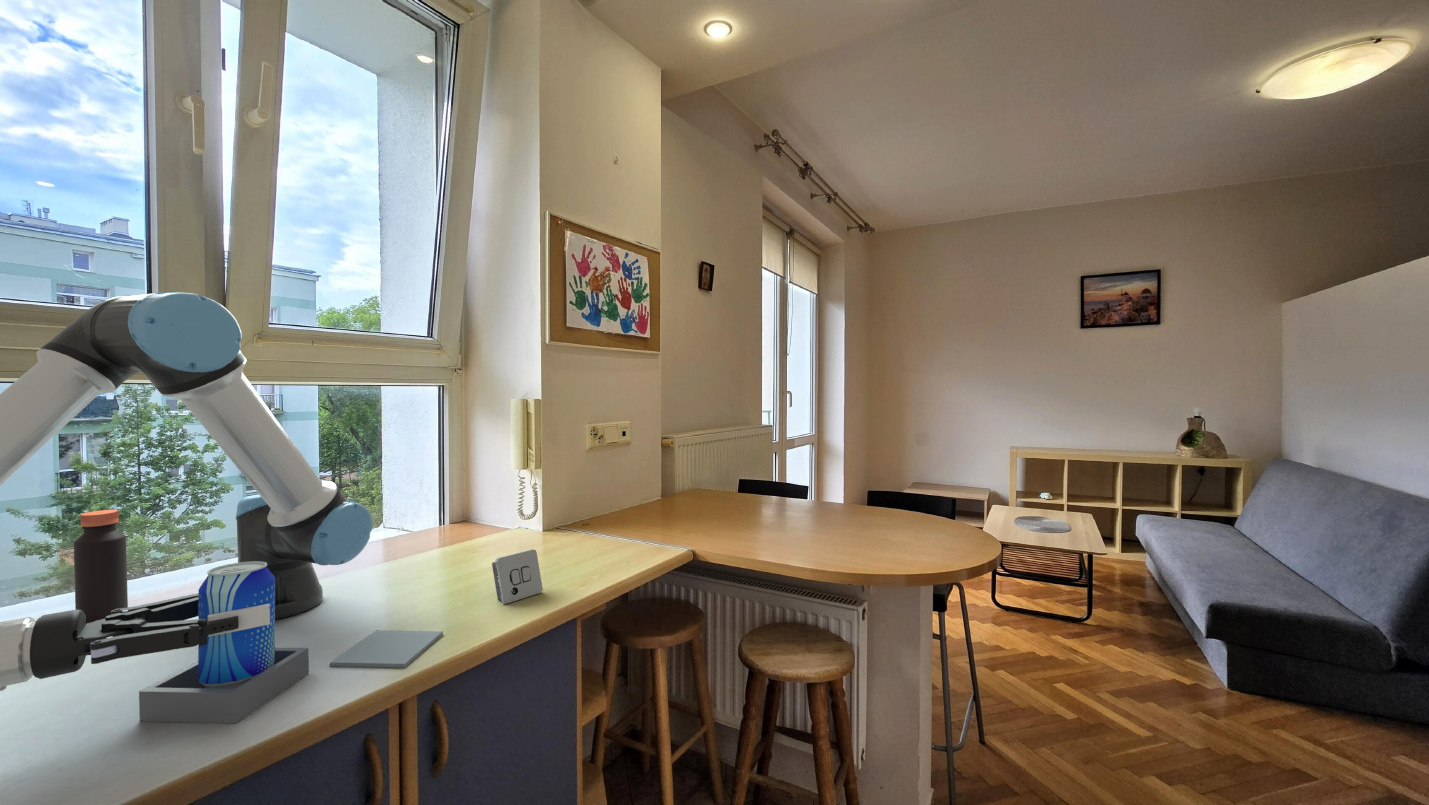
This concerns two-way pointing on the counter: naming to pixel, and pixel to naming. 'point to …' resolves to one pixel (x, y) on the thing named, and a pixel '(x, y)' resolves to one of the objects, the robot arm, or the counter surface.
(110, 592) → the bottle
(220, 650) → the beer can
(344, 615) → the counter surface
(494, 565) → the electrical switch
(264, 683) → the grey storage bin
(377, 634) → the coaster mat
